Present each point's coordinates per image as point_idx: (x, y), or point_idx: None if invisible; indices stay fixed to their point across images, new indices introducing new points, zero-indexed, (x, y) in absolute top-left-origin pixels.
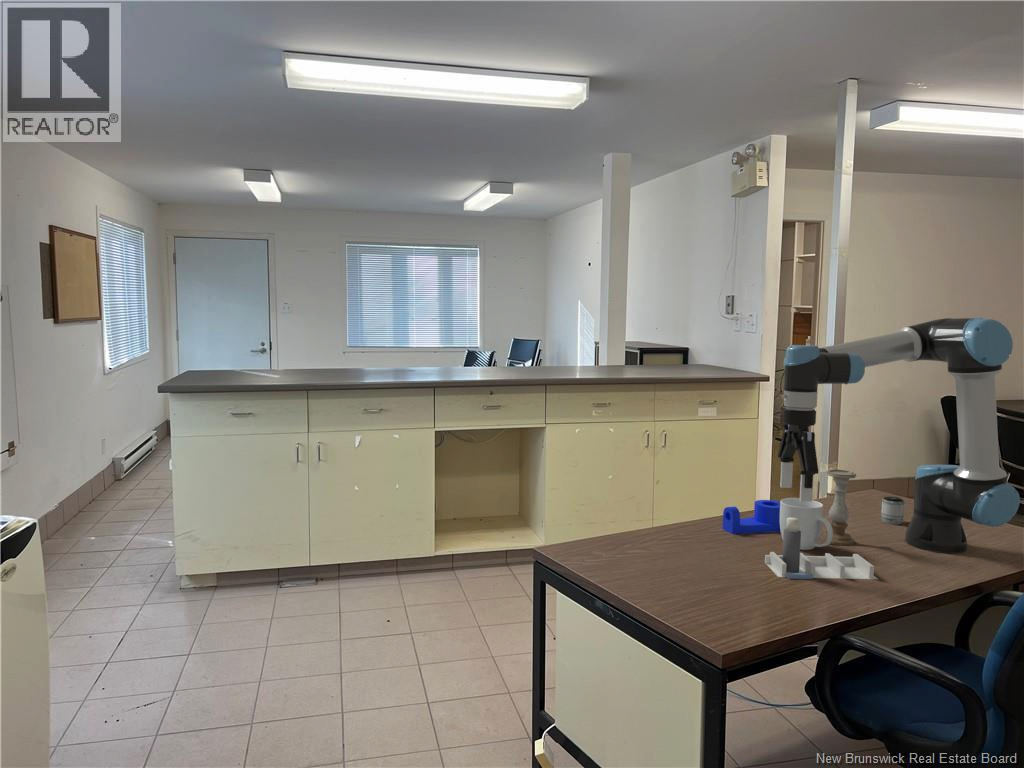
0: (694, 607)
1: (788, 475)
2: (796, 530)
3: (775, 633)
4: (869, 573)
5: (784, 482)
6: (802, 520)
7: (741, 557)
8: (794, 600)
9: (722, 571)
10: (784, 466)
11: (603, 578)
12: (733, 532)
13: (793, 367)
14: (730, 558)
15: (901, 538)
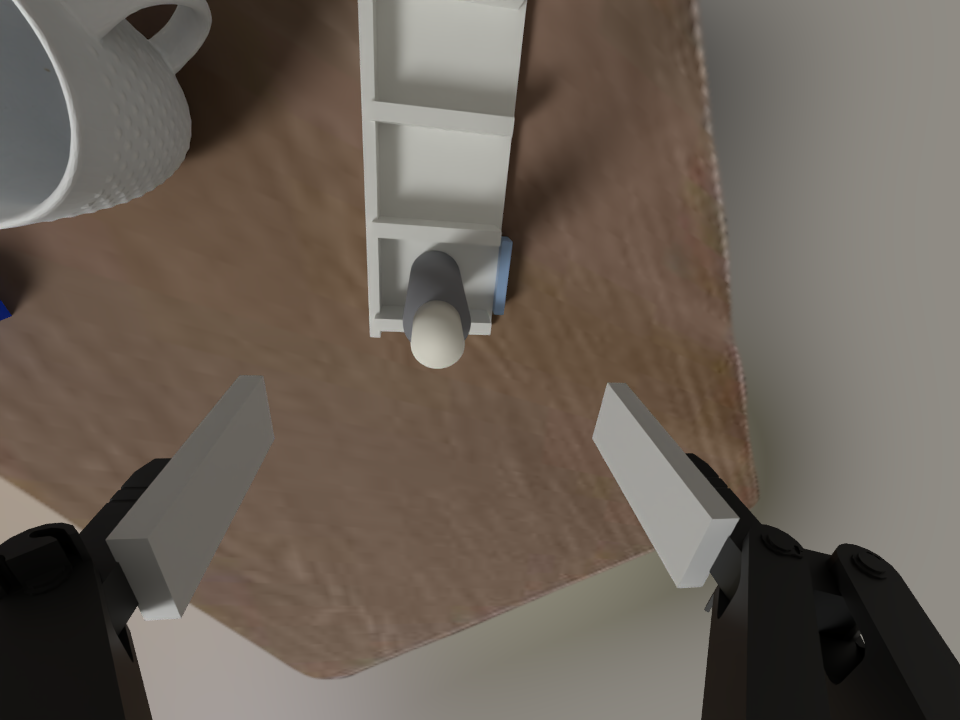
0: (604, 512)
1: (227, 462)
2: (459, 318)
3: (732, 423)
4: (521, 3)
5: (257, 446)
6: (136, 141)
7: (300, 361)
8: (610, 335)
9: (421, 433)
10: (196, 563)
11: (464, 610)
12: (3, 312)
13: None
14: (315, 392)
15: None
